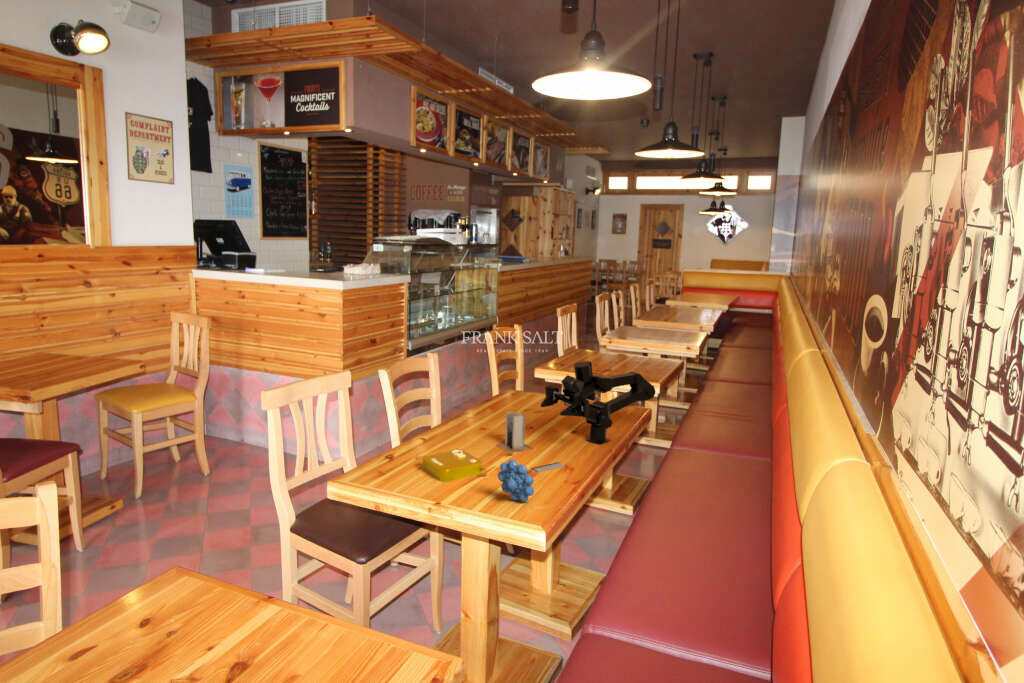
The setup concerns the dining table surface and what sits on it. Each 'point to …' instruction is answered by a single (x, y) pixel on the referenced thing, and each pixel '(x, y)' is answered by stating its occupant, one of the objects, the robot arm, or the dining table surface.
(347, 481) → the dining table surface
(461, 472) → the element tile
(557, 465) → the slate mat
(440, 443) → the dining table surface
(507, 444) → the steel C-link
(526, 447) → the walnut stand
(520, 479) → the blue ball cluster
